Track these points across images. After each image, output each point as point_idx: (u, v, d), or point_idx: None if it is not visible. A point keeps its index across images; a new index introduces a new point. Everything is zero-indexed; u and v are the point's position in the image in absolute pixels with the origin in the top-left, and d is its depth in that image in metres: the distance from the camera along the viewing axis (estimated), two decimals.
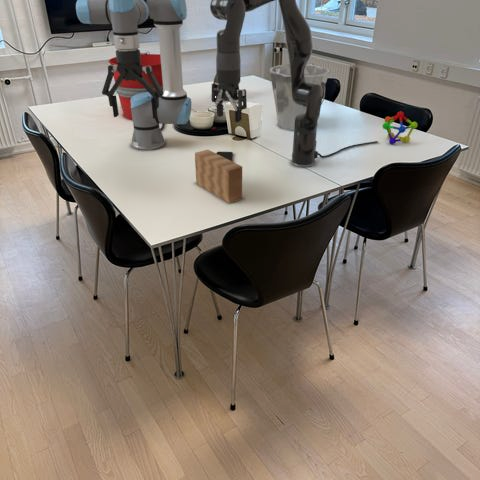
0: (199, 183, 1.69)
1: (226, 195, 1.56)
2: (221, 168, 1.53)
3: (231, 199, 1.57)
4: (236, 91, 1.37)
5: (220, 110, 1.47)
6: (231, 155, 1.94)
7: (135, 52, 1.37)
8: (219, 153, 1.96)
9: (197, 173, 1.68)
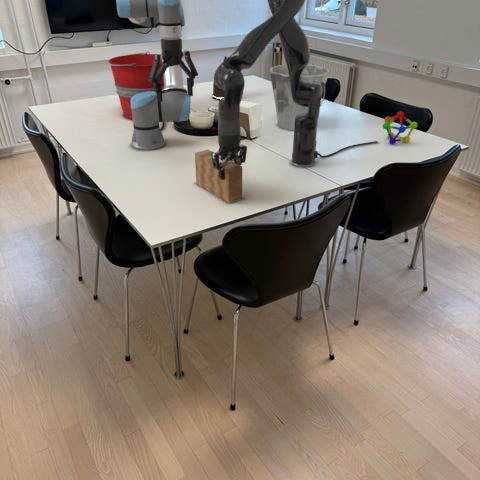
0: (199, 183, 1.69)
1: (226, 195, 1.56)
2: None
3: (231, 199, 1.57)
4: None
5: None
6: None
7: None
8: None
9: (197, 173, 1.68)
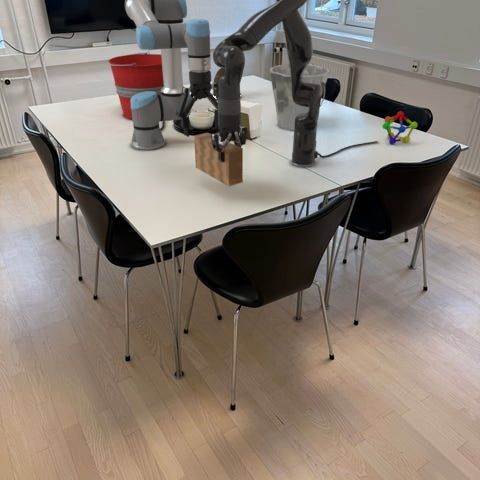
0: (199, 167, 1.65)
1: (226, 178, 1.53)
2: None
3: (231, 182, 1.53)
4: None
5: None
6: None
7: (210, 71, 1.50)
8: None
9: (196, 156, 1.64)
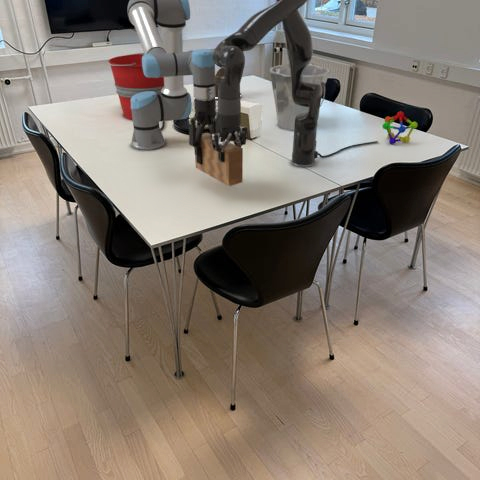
0: (199, 167, 1.65)
1: (226, 178, 1.53)
2: None
3: (231, 182, 1.53)
4: None
5: None
6: None
7: (215, 99, 1.53)
8: None
9: (196, 156, 1.64)
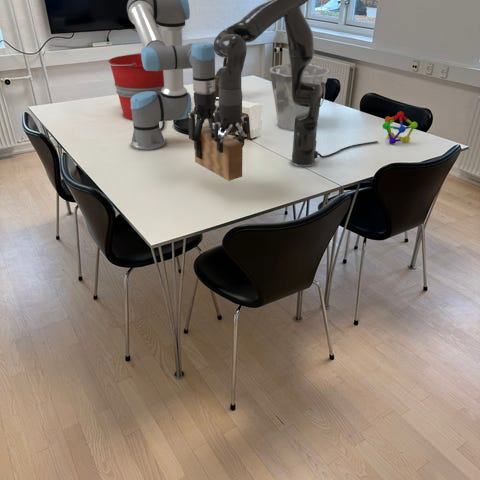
0: (198, 161, 1.64)
1: (226, 172, 1.52)
2: None
3: (230, 177, 1.52)
4: None
5: None
6: None
7: (215, 93, 1.52)
8: None
9: None
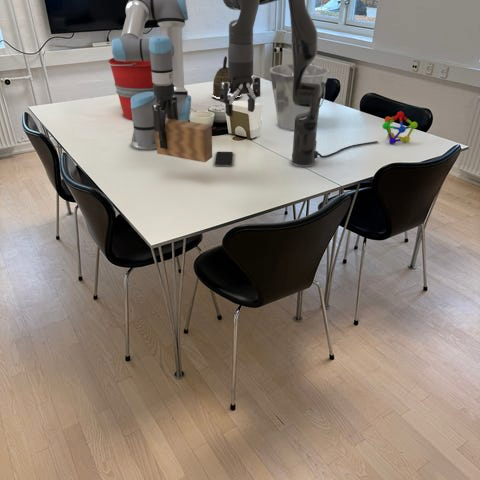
0: (162, 152, 1.70)
1: (201, 155, 1.64)
2: (193, 129, 1.60)
3: (206, 158, 1.65)
4: None
5: (249, 105, 1.41)
6: (231, 155, 1.94)
7: None
8: (219, 153, 1.96)
9: (158, 142, 1.69)
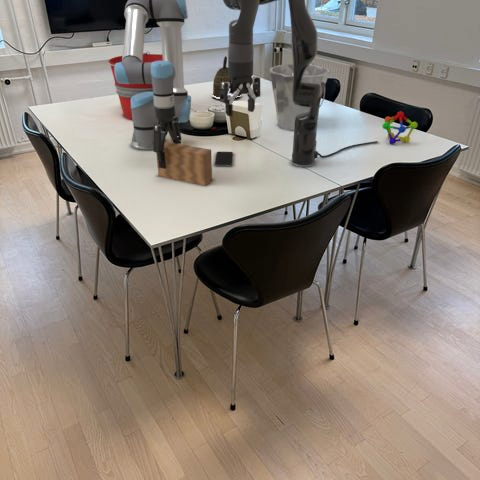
0: (163, 174, 1.75)
1: (201, 178, 1.68)
2: (193, 154, 1.64)
3: (206, 181, 1.69)
4: None
5: (249, 105, 1.41)
6: (231, 155, 1.94)
7: (173, 106, 1.65)
8: (219, 153, 1.96)
9: None
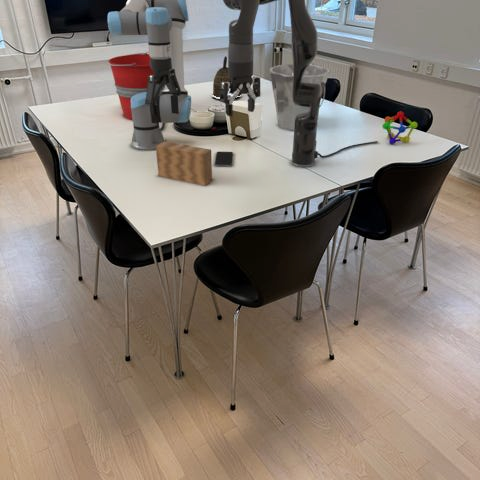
0: (163, 174, 1.75)
1: (201, 178, 1.68)
2: (193, 154, 1.64)
3: (206, 181, 1.69)
4: None
5: (249, 105, 1.41)
6: (231, 155, 1.94)
7: None
8: (219, 153, 1.96)
9: (159, 165, 1.74)
